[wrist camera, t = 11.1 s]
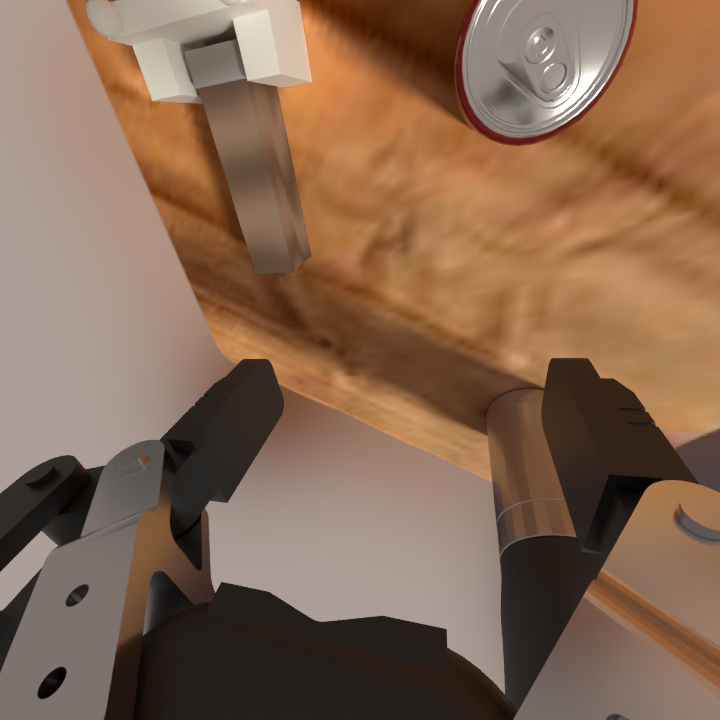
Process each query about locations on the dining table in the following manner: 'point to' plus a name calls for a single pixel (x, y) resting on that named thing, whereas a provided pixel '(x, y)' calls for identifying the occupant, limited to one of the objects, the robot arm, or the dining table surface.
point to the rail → (252, 157)
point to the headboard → (206, 39)
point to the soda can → (537, 63)
